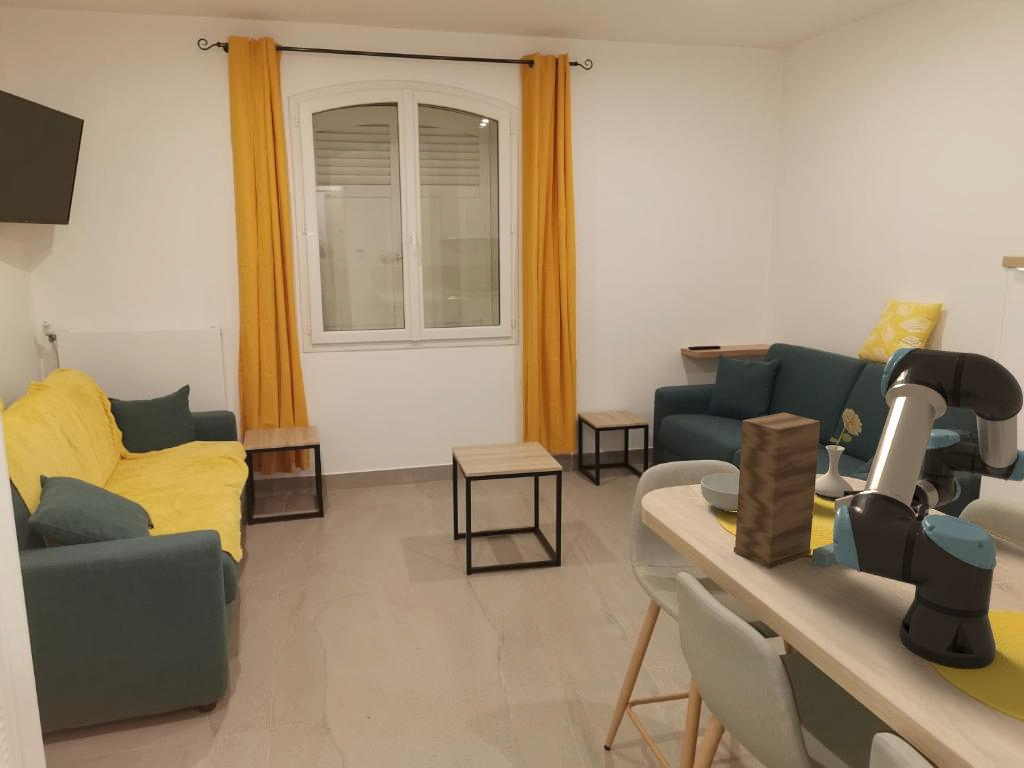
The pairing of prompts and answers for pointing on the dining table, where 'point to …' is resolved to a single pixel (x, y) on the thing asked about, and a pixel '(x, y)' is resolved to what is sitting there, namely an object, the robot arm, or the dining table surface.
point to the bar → (824, 556)
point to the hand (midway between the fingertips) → (861, 514)
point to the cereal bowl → (721, 490)
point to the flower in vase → (832, 480)
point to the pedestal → (776, 488)
